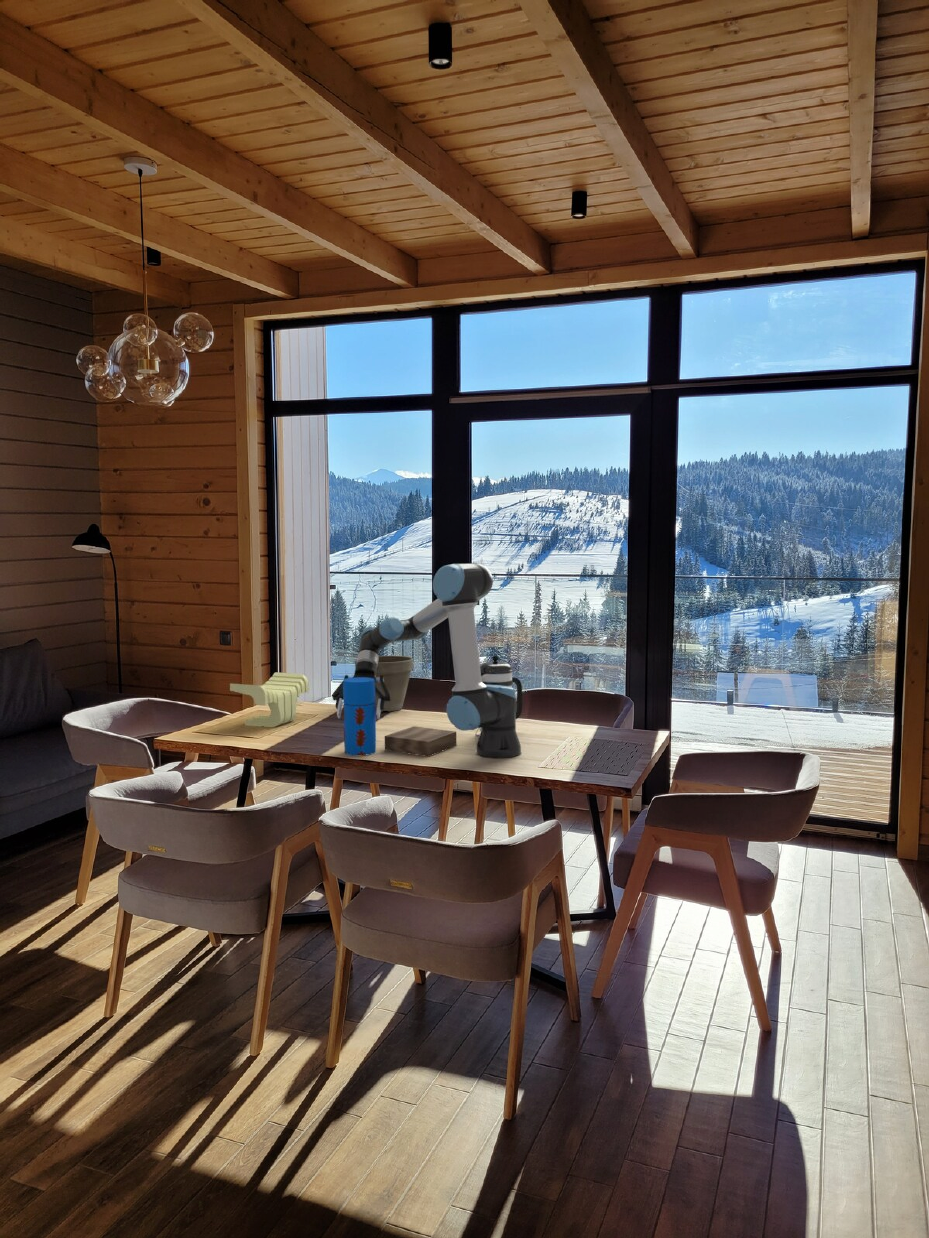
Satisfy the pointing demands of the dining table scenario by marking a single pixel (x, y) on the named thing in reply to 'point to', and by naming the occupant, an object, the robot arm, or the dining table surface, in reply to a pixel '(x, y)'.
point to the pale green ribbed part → (275, 697)
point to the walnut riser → (420, 741)
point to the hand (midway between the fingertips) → (358, 716)
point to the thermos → (359, 716)
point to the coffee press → (501, 679)
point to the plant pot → (393, 679)
